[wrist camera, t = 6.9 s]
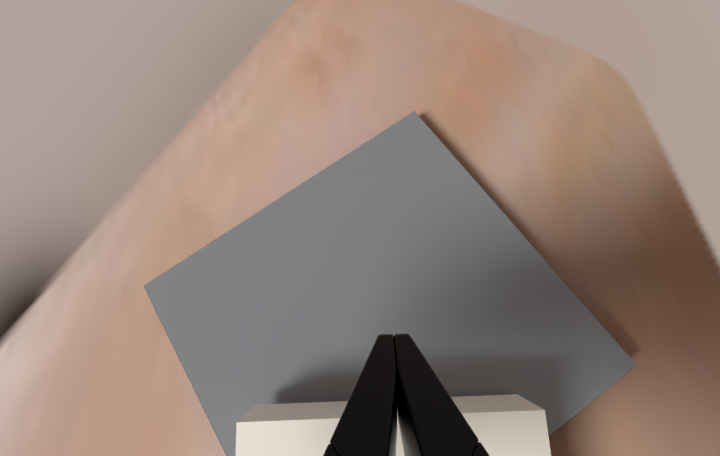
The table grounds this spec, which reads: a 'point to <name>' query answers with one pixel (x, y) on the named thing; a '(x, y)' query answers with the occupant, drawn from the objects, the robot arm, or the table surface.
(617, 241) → the table surface
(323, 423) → the picture frame
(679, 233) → the table surface
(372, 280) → the mat
